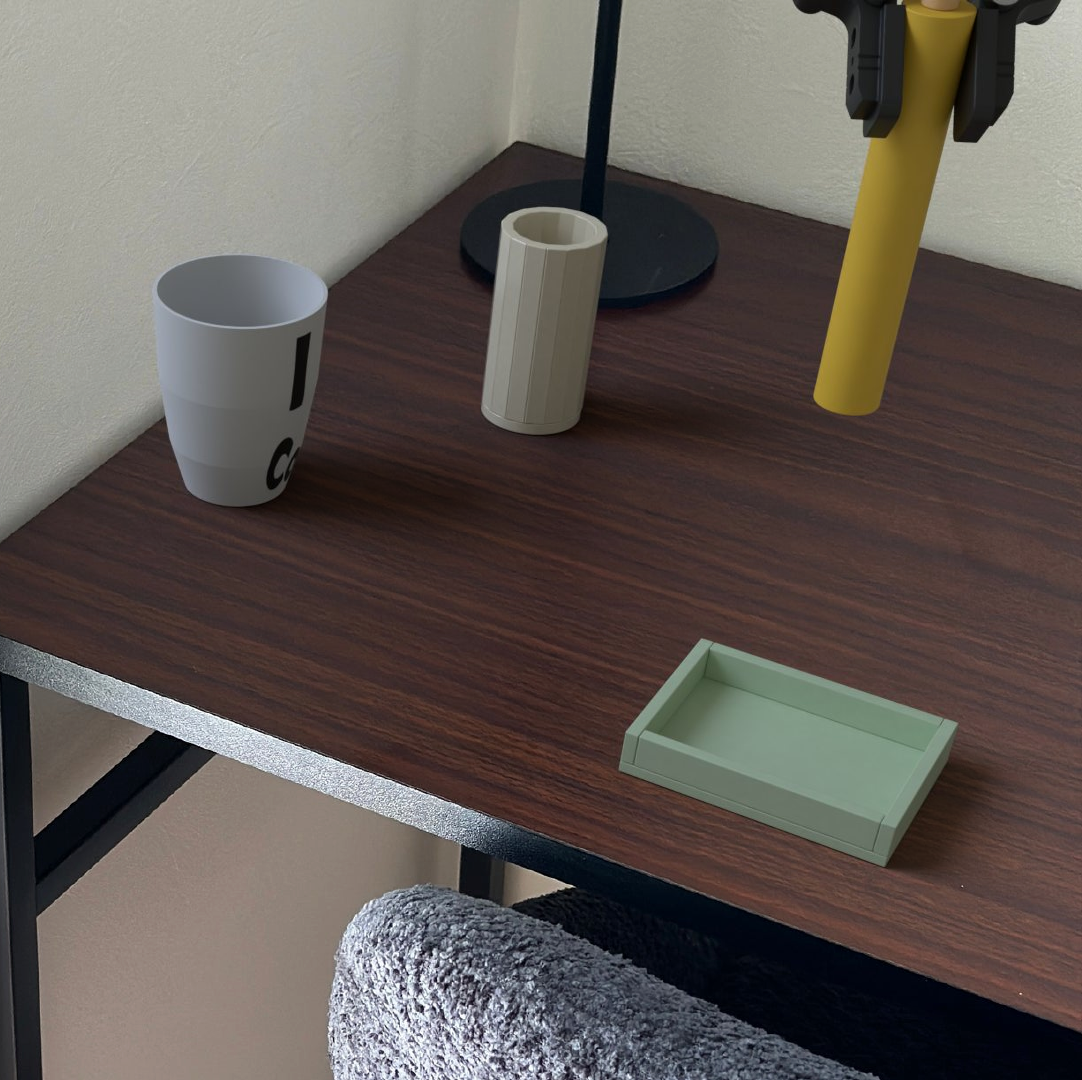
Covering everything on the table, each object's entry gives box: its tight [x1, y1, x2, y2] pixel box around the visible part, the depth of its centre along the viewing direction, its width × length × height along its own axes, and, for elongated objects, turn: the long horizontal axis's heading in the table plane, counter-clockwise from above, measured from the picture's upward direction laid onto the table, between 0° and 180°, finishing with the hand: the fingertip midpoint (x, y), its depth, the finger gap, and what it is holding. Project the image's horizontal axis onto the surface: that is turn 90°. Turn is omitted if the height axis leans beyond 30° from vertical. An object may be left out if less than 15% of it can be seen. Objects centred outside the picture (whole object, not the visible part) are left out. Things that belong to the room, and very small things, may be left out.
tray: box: [618, 638, 960, 868], centre depth 85 cm, size 11×8×2 cm
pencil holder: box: [480, 206, 609, 436], centre depth 106 cm, size 5×5×10 cm
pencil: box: [812, 0, 977, 417], centre depth 72 cm, size 2×2×15 cm
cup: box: [152, 253, 329, 507], centre depth 99 cm, size 8×8×10 cm
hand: (928, 128), depth 68 cm, fingers closed on pencil, 2 cm apart
